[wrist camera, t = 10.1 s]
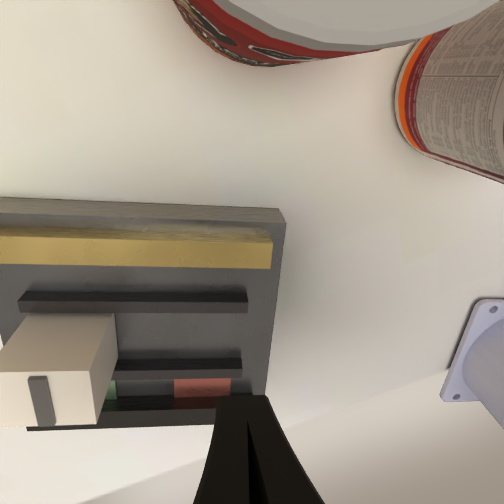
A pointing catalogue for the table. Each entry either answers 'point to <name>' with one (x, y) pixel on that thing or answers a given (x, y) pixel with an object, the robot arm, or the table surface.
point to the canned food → (318, 26)
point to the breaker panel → (151, 296)
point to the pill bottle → (457, 95)
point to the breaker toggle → (57, 369)
